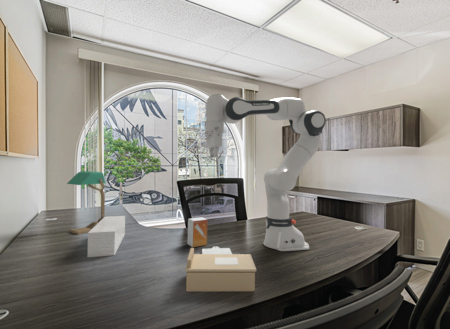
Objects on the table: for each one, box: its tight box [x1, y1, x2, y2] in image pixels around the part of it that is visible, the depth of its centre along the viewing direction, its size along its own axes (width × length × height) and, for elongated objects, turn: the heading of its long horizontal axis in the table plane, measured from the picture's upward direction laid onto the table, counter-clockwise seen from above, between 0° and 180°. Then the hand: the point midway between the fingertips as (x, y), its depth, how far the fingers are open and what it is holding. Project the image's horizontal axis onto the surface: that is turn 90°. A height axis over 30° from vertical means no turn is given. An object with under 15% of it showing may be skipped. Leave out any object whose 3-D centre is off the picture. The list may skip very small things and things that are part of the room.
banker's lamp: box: [66, 170, 106, 235], centre depth 143 cm, size 16×21×35 cm
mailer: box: [185, 272, 256, 292], centre depth 83 cm, size 22×13×6 cm, turn 92°
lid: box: [185, 247, 257, 273], centre depth 83 cm, size 23×13×3 cm, turn 92°
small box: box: [187, 216, 208, 248], centre depth 121 cm, size 8×6×13 cm
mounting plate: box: [201, 246, 233, 254], centre depth 105 cm, size 18×13×2 cm
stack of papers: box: [87, 215, 126, 258], centre depth 119 cm, size 32×11×11 cm, turn 15°
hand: (213, 157), depth 115 cm, fingers open, 8 cm apart
